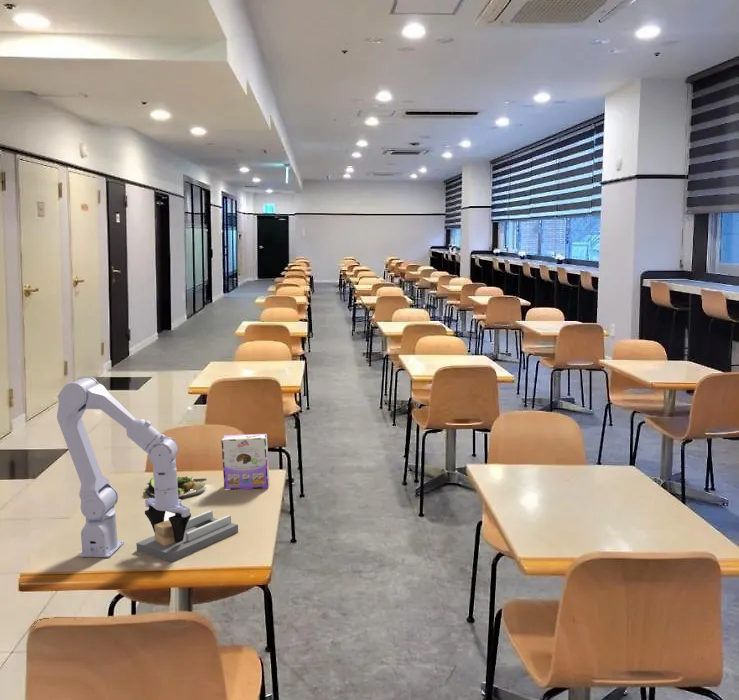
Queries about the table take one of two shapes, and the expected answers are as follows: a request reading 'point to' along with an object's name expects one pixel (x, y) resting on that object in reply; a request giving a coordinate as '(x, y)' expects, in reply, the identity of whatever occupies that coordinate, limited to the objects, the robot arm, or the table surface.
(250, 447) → the cake mix box
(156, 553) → the rail jig base
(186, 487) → the salad plate
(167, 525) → the block
